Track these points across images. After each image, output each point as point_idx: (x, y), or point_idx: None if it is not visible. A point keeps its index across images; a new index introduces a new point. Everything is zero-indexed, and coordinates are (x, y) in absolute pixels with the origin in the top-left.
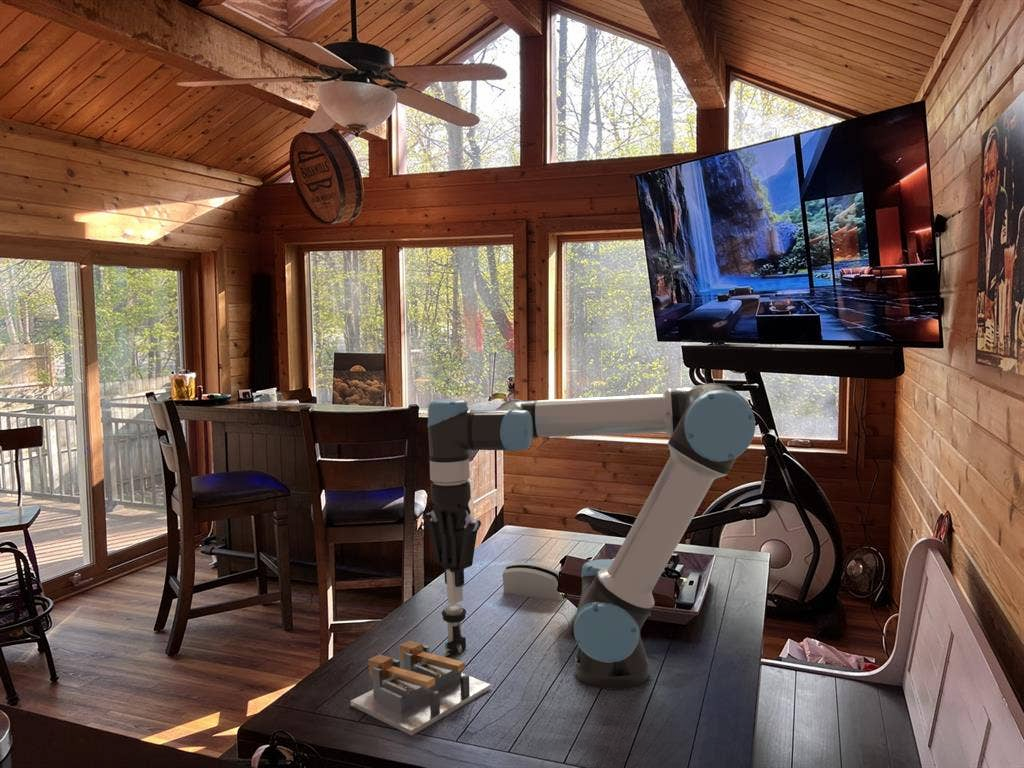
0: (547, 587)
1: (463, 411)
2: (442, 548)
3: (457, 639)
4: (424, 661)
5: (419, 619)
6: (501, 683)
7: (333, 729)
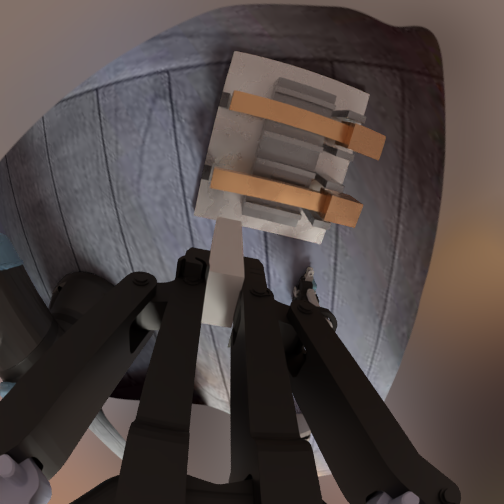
0: None
1: None
2: (278, 356)
3: (299, 296)
4: (300, 186)
5: (382, 337)
6: (190, 234)
7: (349, 36)
